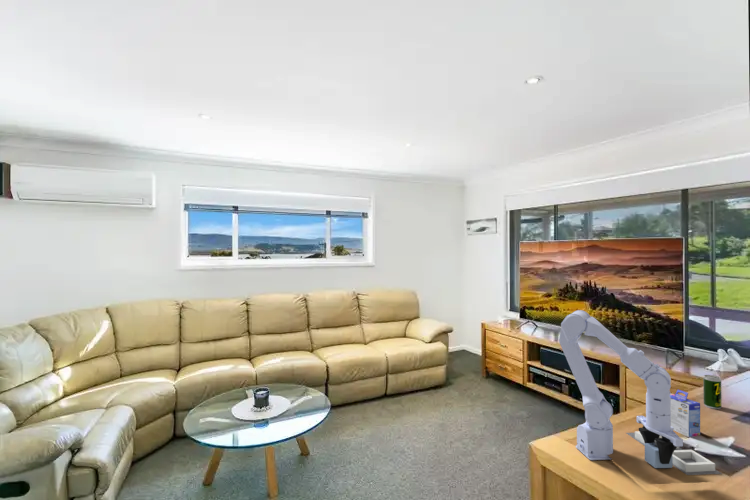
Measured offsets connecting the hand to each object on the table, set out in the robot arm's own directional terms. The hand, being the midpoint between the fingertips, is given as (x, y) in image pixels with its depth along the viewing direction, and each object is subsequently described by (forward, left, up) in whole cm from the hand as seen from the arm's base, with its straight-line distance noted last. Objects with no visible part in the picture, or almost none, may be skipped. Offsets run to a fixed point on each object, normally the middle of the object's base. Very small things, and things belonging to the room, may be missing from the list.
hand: (658, 458), depth 109 cm
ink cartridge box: (+24, +20, -4) cm, 31 cm away
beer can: (+55, +40, -4) cm, 68 cm away
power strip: (+9, +7, -3) cm, 12 cm away
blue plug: (0, 0, -2) cm, 2 cm away
